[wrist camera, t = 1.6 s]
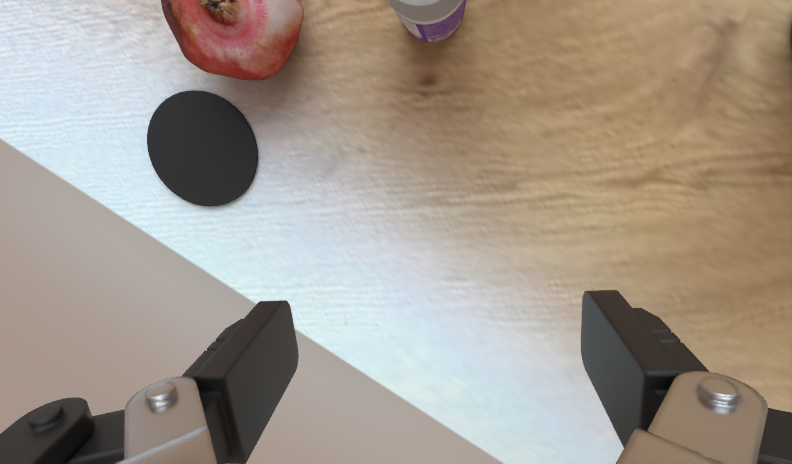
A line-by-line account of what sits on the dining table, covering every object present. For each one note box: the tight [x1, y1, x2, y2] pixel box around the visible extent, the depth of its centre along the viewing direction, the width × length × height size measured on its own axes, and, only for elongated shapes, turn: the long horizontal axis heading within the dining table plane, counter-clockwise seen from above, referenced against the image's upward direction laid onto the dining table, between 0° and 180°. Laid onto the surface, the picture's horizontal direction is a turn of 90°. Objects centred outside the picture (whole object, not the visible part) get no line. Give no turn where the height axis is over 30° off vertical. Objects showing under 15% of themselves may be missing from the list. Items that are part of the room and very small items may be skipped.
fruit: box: [161, 0, 304, 80], centre depth 30 cm, size 9×10×10 cm
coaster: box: [147, 91, 258, 206], centre depth 38 cm, size 10×10×1 cm
